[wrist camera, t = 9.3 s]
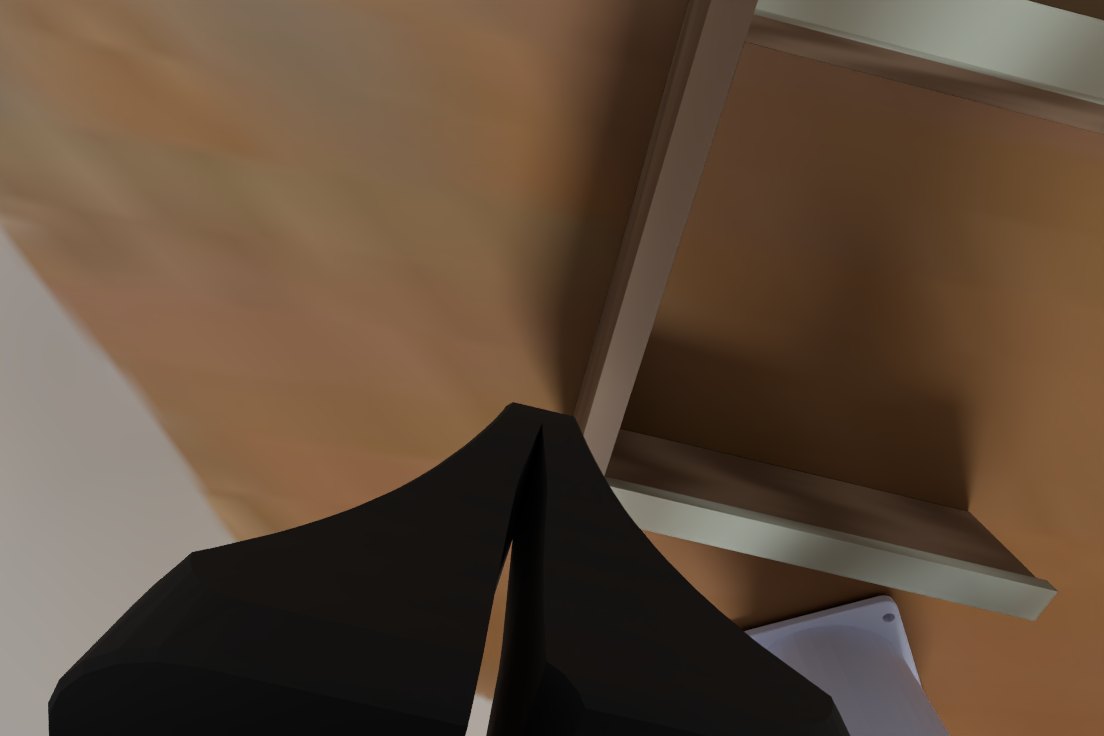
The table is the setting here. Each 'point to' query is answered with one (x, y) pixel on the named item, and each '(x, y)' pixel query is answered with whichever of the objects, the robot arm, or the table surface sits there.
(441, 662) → the robot arm
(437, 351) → the table surface
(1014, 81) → the cold frame
